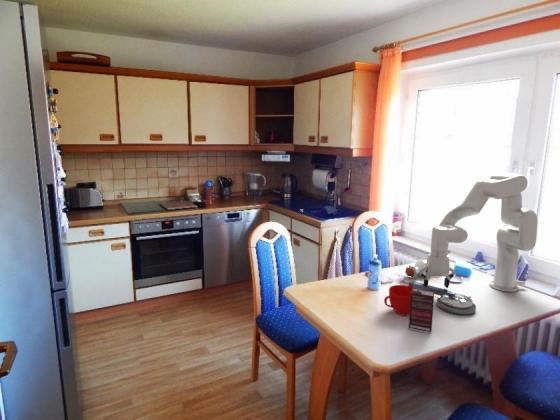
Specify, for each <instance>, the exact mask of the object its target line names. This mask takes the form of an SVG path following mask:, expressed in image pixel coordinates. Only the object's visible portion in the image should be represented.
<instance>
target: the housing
mask: <svg viewBox="0 0 560 420" xmlns="http://www.w3.org/2000/svg"><path fill="white" fill-rule="evenodd" d="M434 298H436V307H437V308H438V309H439V310H441V311H442V312H445V313H447V314H449V315H454V316H462V317H463V316H464V317H465V316H466V317H467V316H471V315H474V314H475V313H476V312H477V311H476V310H477V306H476V304H475V303H474V302H473V303H472V307H471V308H470V309H455V308H451V307H448V306H446V305H444V304H442V303H441V301H440V299H441V296H438V295H434Z"/></svg>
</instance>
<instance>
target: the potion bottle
mask: <svg viewBox="0 0 560 420" xmlns="http://www.w3.org/2000/svg"><path fill="white" fill-rule="evenodd" d="M426 261H427V259H423V258H422V259H418V260H416V262H415V264H414V266H412V265H409V266H406V268H405V271H404V272H405V274H406V275H407V277H408V276H411V278H412V277H413V276H414V277H413V278H416V277H417V276H420V272H419V270H420V269H422V268H424V267H426ZM418 274H419V275H418ZM423 274H424V275H425V274H426V272H425V271H424V272H423Z"/></svg>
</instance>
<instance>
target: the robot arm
mask: <svg viewBox="0 0 560 420" xmlns="http://www.w3.org/2000/svg"><path fill="white" fill-rule="evenodd" d="M528 182H529V181H528V179H527V177H525V175H523V174H518V173H509V172H500V171H499V172H494V173H492V174H491V176H490V177H489V179H488V178H480V179H479V180H477V181H476V182H475V184H474V185H473V186H472V188H471V189H470V191H469V193H468V195H466V197H465V198H464V200H463V201H462V203H461V204H460V205H457V206H456V207H454V208H453V209H452V210H450V211H449V212H448V213H447V214H446V215H445V216H444V218H442V220H441V222H440V224H439V226H434V227H433V228H432V229H431V230H432V231H431V241H430V252H429V253H428V255H427V257H426V260H427V261H426V267H424V268H422V269H420V270H419V272H420V275H421V276H420V275H419V276H420V277H422V278H423V283H422V284H426V285H429V278H430V277H444V283H443V285H444V287H445V289H449V286H450V283H451V282H450V281H451V279H452V278H454V277H455V275H456V273H457V270H456V269H453V268H452V267H450V265H451V264H450V257H449V254H451V250H450V249H449V244H450V243H453V244H461V243H463V242H465V241H466V240H467V239H468V237H469V235H468V232H467V230H466V229H464V228H463V227H461V226H458V225H456V224H457V223H458V222H459V221H460V220H462V219H464V218H467V217H471V216H475V215H478V214H479V213H481V211H482V210H483V208H484V206H485V205H486V204H487V202H488V200H489V199H495V200H500V201H501V206H500V219H501V222H502V223H503V224H505V225H507V226H502V227H500V228H499V229H498V230H497V233H496V246H497V247H496V257H495V258H496V259H495V265H494V266H495V267H494V275H493V280H491V281H489V286H490V287H491V288H493V289H494V290H497V291H501V292H502V291H503V292H507V293H510V292H511V293H514V292H518V290H519V285H520V286H524V285H526V282H525V281H524V280H523V281H522V280H519V279H517V272H518V266H519V265H518V263H519V260H520V257H519V256H520V253H519V250H520V251H523V252H529V251H532V250H533V249H534V248H535V246H536V244H537V237H538V236H537V235H538V215H537V214H536V213H535V211H534V210H532V209H529V208H525V207H523V205H522V204H523V198H522V197H523V196H522V193H523V192H524V191H525V190H526V189H527V187H528V185H529V184H528ZM424 271H425V272H426V274H425V275H424V274H423V272H424Z"/></svg>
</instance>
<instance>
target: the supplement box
mask: <svg viewBox="0 0 560 420" xmlns="http://www.w3.org/2000/svg"><path fill="white" fill-rule="evenodd" d="M434 301H435V294H434V292H431V291H425V290H418V289H412V291H411V299H410V315H408V318H409V319H408V330H410V331H415V332H419V333H426V334H432V329H433V318H434V317H433V316H434V315H433V314H434V304H435V302H434Z"/></svg>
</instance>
